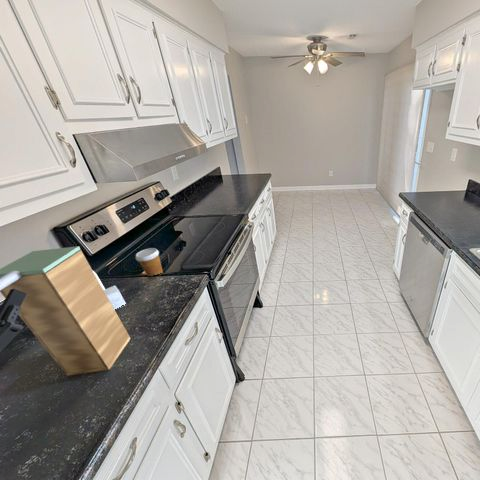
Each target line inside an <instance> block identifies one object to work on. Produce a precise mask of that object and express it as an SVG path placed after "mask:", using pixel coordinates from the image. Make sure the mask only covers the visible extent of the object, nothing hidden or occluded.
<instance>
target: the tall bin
mask: <svg viewBox="0 0 480 480" xmlns="http://www.w3.org/2000/svg"><path fill="white" fill-rule="evenodd" d="M92 270H93V269H92V267H91V265H90V263H89V261H88V260H87V258H86V256H85V254H84V253H83V251H82V249H80V250H79V251H77V252H76V253H74V254H73V255H71V256H70V257H68V258H67V259H65V260H64V261H62V262H61V263H59V264H58V265H56V266H54V267H53V268H51V269H50V270H48V271H47V272H45V273H40V274H31V275H22V277H21V278H20V279H18V280H16V281H15V282H13V283H12V284H10V285H8V286H7V287H5V288H3V289H2V290H0V294H1V295H2V296H3V297H4V299H6V297H7V295H8V293H9V291H10V290H11V289H17V290H19V291H22V292H24V293H27V295H26V297H25V299H24V300H23V302H22V304H21V306H20V307H21V310H20V312H19V314H18V316H19V317H20V319H21V320H22V321H23V323H24V324H25V325H26V326H27V328H28V329H29V330H30V332H32V334H33V335H34V336H35V338H36V339H37V340H38V341H39V343H40V344H41V345H42V346H43V348H44V350H46V352H47V353H48V354H49V355H50V357H51V358H52V359H53V360H54V361H55V363H56V365H58V367H59V368H60V369H61V371H62V372H63V373H64V374H65V375H66V376H67V377H68V376H75V375H82V374H88V373H95V372H103V371H110V370H111V368H112V366H113V365H114V363H116V361H117V359H118V358H119V357H120V355H121V353H122V352H123V351H124V349H125V348H126V346H127V345H128V343H129V342H130V340H131V337H130V334H129V333H128V331H127V329H126V327H125V326H124V324H123V322H122V320H121V319H120V317H119V315H118V313H117V311H116V310H114V308H113V306H112V304H111V303H110V301H109V299H108V297H107V295H106V294H105V292H104V290H103V288H102V287H101V285H100V283H99V281H98V279H97V278H96V276H95V274H94V272H95V271H94V270H93V271H94V272H93V271H92Z"/></svg>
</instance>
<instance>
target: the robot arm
mask: <svg viewBox="0 0 480 480" xmlns="http://www.w3.org/2000/svg"><path fill="white" fill-rule="evenodd" d="M26 295H27V293H24V292H22V291H19V290H17V289H11V290H10V291H9V293H8V295H7V297H6V298H4V300H3V302H2V304H1V305H0V353H1V352H2V351H3V350H4V348H6V347H7V346H8V345H9V344H10V343H11V342H12V341H13V340H14V339H15V337H16V336H17V335H18V334H19V333H20V332H21V331H22V330H23V329H24V325H21V324H18V323H16V319H17V318H18V316H19V315H18V314H19V312H20V310H21V307H20V306H21V304H22V302H23V300H24V299H25V297H26Z"/></svg>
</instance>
